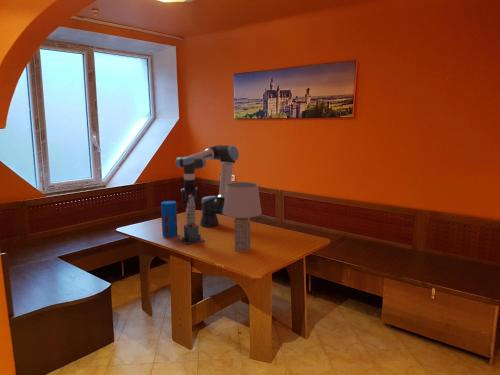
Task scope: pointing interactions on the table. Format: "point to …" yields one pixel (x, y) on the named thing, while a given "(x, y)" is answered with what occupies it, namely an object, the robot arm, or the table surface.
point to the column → (190, 211)
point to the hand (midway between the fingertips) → (190, 212)
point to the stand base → (191, 235)
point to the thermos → (169, 219)
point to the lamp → (242, 210)
